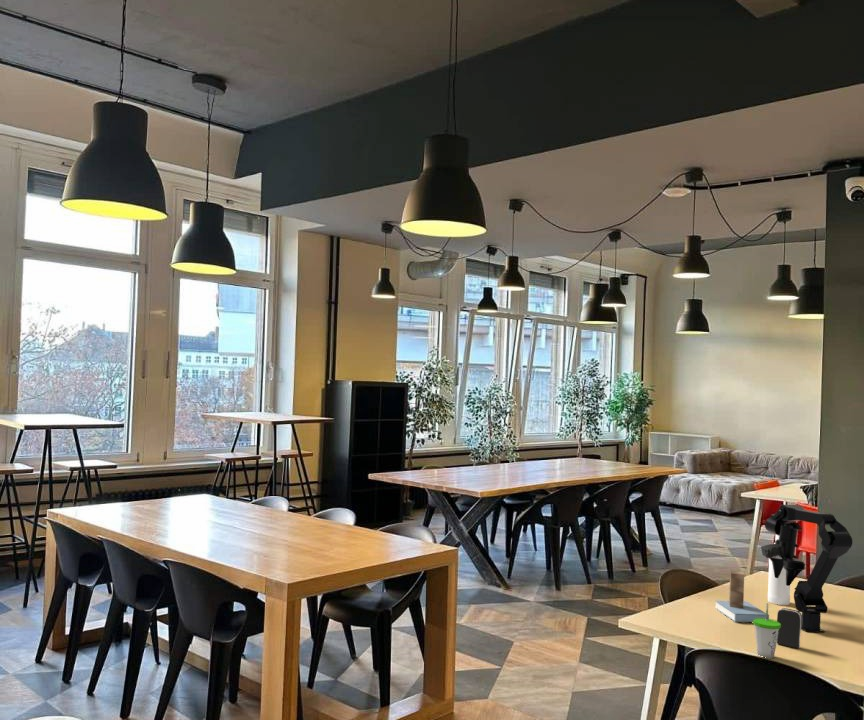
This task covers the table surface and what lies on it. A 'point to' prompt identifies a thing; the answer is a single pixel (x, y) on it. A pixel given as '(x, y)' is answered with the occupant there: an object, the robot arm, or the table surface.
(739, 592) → the brown wooden block
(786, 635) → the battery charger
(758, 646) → the cup
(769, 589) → the bottle
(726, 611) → the book
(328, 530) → the table surface
